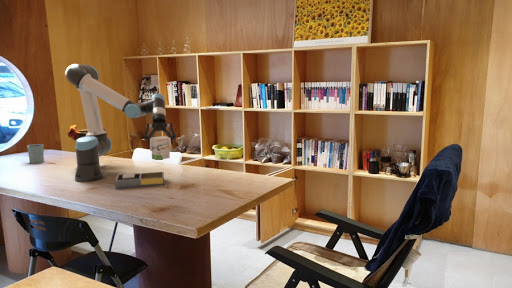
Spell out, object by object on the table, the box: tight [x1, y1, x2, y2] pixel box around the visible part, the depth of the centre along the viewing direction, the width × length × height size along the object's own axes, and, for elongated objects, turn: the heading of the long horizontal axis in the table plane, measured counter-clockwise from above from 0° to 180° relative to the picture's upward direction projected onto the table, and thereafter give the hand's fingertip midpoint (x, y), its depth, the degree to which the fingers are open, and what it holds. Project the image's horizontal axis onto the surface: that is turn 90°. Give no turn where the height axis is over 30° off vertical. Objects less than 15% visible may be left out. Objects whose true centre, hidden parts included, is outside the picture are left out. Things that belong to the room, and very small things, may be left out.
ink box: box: [151, 135, 171, 161], centre depth 212 cm, size 8×5×12 cm, turn 137°
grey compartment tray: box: [114, 171, 165, 190], centre depth 210 cm, size 24×14×5 cm, turn 104°
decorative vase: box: [67, 124, 107, 170], centre depth 254 cm, size 21×23×28 cm
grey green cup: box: [26, 143, 45, 165], centre depth 271 cm, size 10×10×12 cm
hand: (160, 149), depth 211 cm, fingers closed on ink box, 9 cm apart
